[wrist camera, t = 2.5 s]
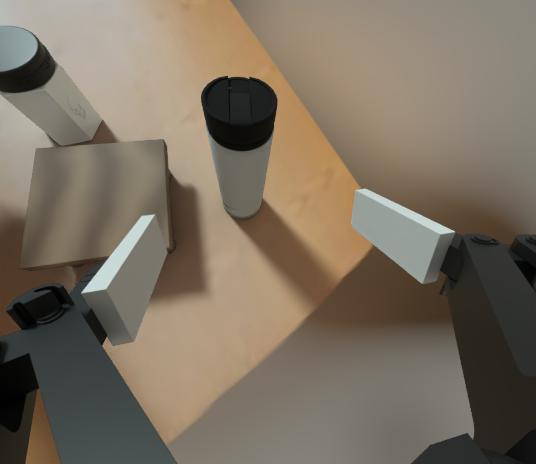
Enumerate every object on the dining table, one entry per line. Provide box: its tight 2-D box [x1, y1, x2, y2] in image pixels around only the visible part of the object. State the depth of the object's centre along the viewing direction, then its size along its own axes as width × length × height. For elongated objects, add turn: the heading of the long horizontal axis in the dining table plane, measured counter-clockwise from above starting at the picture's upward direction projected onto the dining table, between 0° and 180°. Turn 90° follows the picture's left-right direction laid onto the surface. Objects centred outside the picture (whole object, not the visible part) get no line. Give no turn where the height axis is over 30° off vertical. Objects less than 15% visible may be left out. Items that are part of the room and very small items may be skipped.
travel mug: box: [201, 76, 277, 219], centre depth 27 cm, size 6×7×20 cm
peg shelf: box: [19, 139, 176, 271], centre depth 31 cm, size 16×16×6 cm
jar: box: [0, 26, 102, 146], centre depth 32 cm, size 9×8×12 cm
